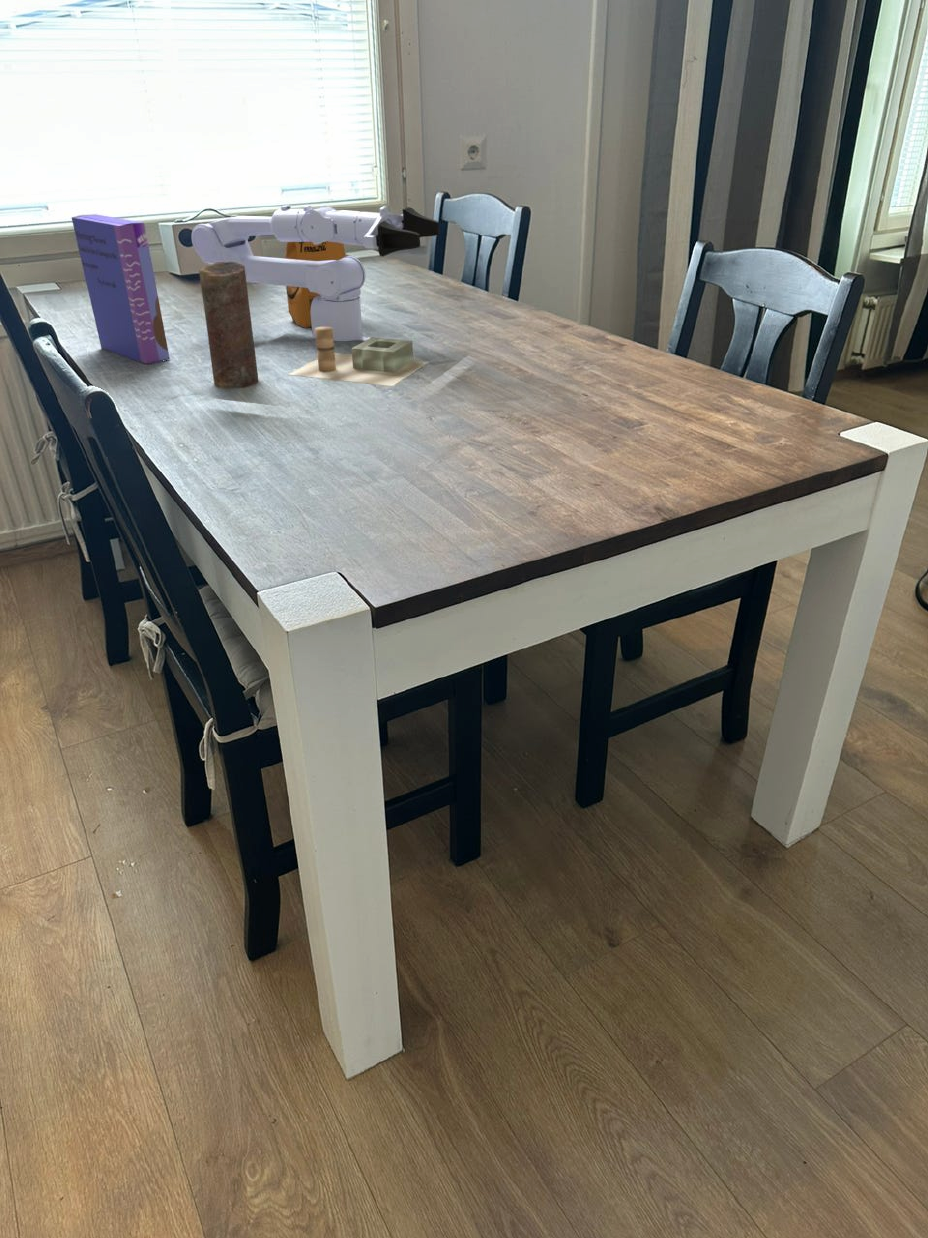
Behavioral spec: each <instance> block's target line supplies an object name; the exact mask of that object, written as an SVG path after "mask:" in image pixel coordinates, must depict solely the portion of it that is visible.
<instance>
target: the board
mask: <svg viewBox="0 0 928 1238" xmlns="http://www.w3.org/2000/svg"><path fill="white" fill-rule="evenodd" d="M335 362H336V370H334V371H331V372H322V371H319V366H318V358H316V359H314V360H313V361H311V362H308V363H307V364H305V365H303V366H301V367H299V368H298V369H296V370H293V371H292V372H290V373H288V374H287V375H288V376H296V377H303V378H304V377H305V378H314V379H322V380H333V381H341V382H350V383H358V384H365V385H366V384H369V385H375V386H385V387H394V386H396V385H397V384H398V383H400V382H402V381H403V380H405V379H406V378H408V377H409V376H411V375H412V374H413V373H415V372H416V371H418V370H420V369H421V368H422V367H424V366H425V365H427V364H429V361H420V360H414V347H413V340H409V339H408V340H405V339H395V338H385V337H375V336H373V337H370V339H368V340H366V341H364V340H363V341H362V342H361V343H359V344H357V345H355V346H353V347H351V354H350V353H339V352H335Z"/></svg>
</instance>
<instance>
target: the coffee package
mask: <svg viewBox="0 0 928 1238" xmlns="http://www.w3.org/2000/svg"><path fill="white" fill-rule="evenodd" d="M286 243H287V244H286V249H285V250H286V254H285V258H284V259H294V260H306V261H328V260H340V259H342V258H344V257H346V251H345V244H342V243H339V242H329V241H325V242H322V243H321V244H317V245H314V244H313V242H311V241H310V242H286ZM285 290H286V297H287V306H288V313H289V315H290V317H291V320H292V322H293V323H295V324H296V325H297V326H298V327H301V328H304V329H306V328H312V323H311V304H312V301H313V299H314V298H315V297H316V296H321V295H319V294H318V293H315V292H310V291H309V289H308V288H304V287H293V286H285Z"/></svg>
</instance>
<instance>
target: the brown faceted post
mask: <svg viewBox="0 0 928 1238" xmlns="http://www.w3.org/2000/svg"><path fill="white" fill-rule="evenodd" d="M198 273H199V281H200V287H201V288H200V289H201V296H202V303H203V311H204V315H205V317H204V318H205V325H206V330H207V332H206V333H207V340H208V345H209V354H210V362H211V369H212V377H213V379H212V380H213V384H214V386H215V387H217V388H220V389H229V390H230V389H244V388H249V387H251V386H254V385H256V384H257V383H258V382H259V374H258V373H259V372H258V364H257V357H256V349H255V348H256V347H255V341H254V334H253V325H252V318H251V317H252V316H251V309H250V303H249V302H250V301H249V292H248V282H246V273H245V267H244V265H242V264H239V263H236V262H216V263H213V264H208V265H205V266H203V267H202V268H201V269H199V270H198Z"/></svg>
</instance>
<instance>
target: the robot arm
mask: <svg viewBox="0 0 928 1238" xmlns="http://www.w3.org/2000/svg"><path fill="white" fill-rule="evenodd" d="M378 211H379V212H374V211H372V212H371V211H362V210H361V211H359V210H350V209H348V210H347V209H340V210H337V209H336V208H334V207H331V206H327V205H323V206H321V207H320V208H319V207H317V208H315V209H314V208H313V207H312V205H304V206H303V208H292V206H291V205H289V204H288V205H282V206H280V208H279V209H277V210H276V211H274V213H272V216H265V215H263V216H260V215H259V216H258V215H257V216H255V215H237V216H233V217H228V218H222V219H219V220H215V221H211V222H208V223H198V224H197V225H195V226H194V227H193V229H192V231H191V243H192V246H193V248H194V250H195V252H196V253H197V255H198V256H199V257H200V259H201V261H202V262H203V263H205V264H208V265H211V264H213V263H216V262H236V263H239V264H242V265H244V267H245V273H246V282H247V283H255V284H256V283H257V284H264V285H274V286H285V287H286V286H293V287H304V288H308V289H309V291H310V292H315V293H318V294H319V295H321V296H316V297H315V298H314V299H313V301H312V304H311V323H312V327H311V331H312V332H311V333H312V338H313V339H316V336H315V328H317V327H323V326H327V327H332V329H333V340H334V341H335V342H351V341H363V342H364V341H366V340H368V339H370V338H371V337H370V336H363V322H362V309H361V308H362V307H361V293H362V292H361V288H362V287H363V286H364V284H365V281H366V271H365V267H364V265H363V263H362V261H360V260H359V259H358V258H357V257H355V256H351V255H350V256H345V257H344V258H342V259H340V260H328V261H306V260H294V259H285V258H281V257H269V256H258V255H254V253H253V250H252V248H251V245H250V243H249V241H248V240H249V239H250V237H253V236H269V235H270V236H271V235H272V236H274V237H275V238H276V240H278V241H279V242H281V243H287V242H310V241H311V242H313V244H314V245H317V244H321V243H322V242H325V241H329V242H339V243H342V244H344V245H352V246H363V247H364V248H365V249H373V250H374V249H376V248H377V250H378V254H379V257H382V258H383V257H386V256H387V255H389V254H392V253H395V252H400V251H405V250H412V249H417V248H420V247H421V238H424V237H436V236H438V235H441V227H440V222H439V221H437V220H435V219H432V218H429V217H427V216H425V215H422V214H420V213H419V212H417V211H416V210H415V209H414V208H413V207H409V206H407V207H405V208H402V213H401V214H396V213H392V212H389V207H388V206H386V205H384V206H382V207H379V209H378Z"/></svg>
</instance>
